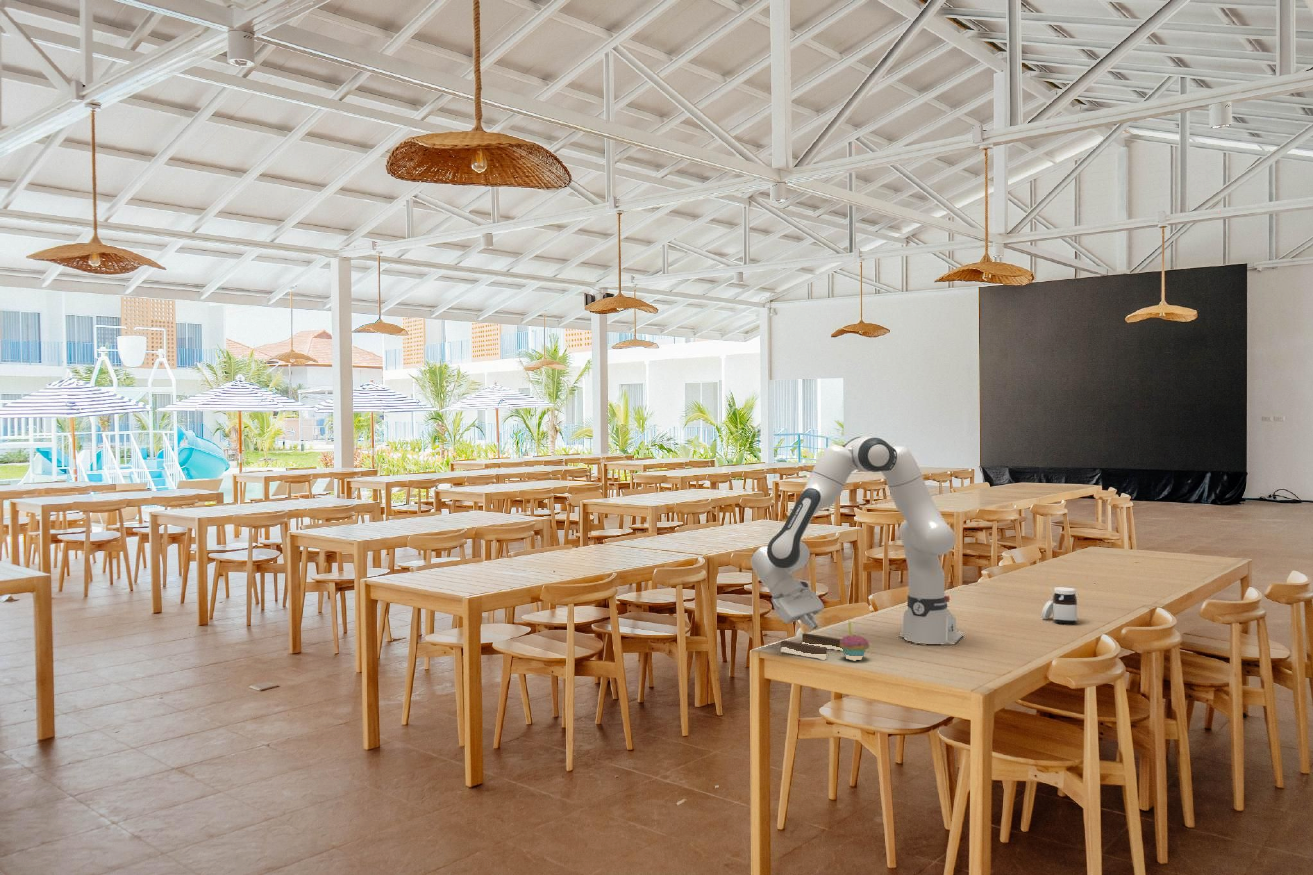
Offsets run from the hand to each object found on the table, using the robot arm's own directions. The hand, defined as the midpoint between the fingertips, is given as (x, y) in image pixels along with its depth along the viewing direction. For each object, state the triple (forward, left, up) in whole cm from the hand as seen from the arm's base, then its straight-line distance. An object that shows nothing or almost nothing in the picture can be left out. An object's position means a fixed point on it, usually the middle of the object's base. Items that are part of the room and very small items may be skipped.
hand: (815, 627), depth 295 cm
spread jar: (-89, +44, -8) cm, 100 cm away
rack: (0, 0, -7) cm, 7 cm away
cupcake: (0, +13, -8) cm, 15 cm away
